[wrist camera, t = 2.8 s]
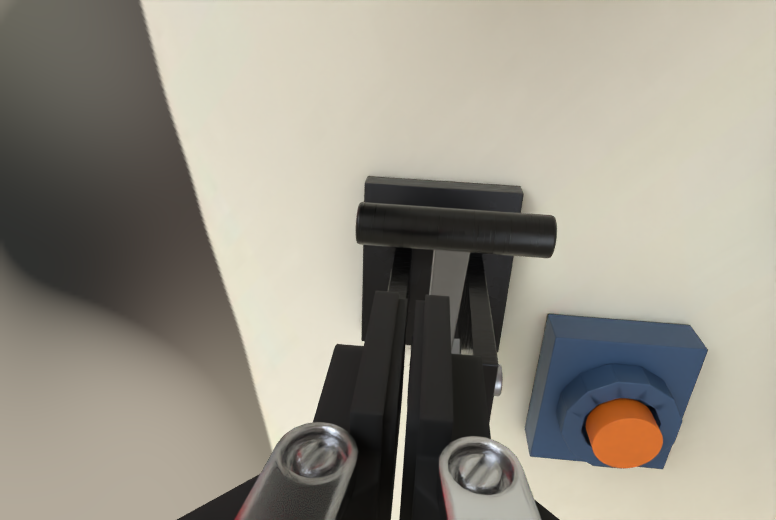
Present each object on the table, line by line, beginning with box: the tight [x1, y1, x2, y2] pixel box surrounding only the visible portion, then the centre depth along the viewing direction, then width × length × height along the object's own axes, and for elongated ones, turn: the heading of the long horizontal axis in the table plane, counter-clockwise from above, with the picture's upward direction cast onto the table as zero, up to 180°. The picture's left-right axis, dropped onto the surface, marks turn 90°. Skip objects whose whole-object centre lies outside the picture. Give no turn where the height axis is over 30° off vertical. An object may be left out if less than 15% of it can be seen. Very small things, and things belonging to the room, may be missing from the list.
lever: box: [356, 202, 557, 408], centre depth 21 cm, size 12×6×2 cm, turn 179°
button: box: [586, 398, 663, 468], centre depth 33 cm, size 4×4×2 cm
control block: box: [525, 314, 708, 469], centre depth 36 cm, size 10×9×4 cm
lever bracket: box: [362, 176, 523, 422], centre depth 29 cm, size 11×9×13 cm
